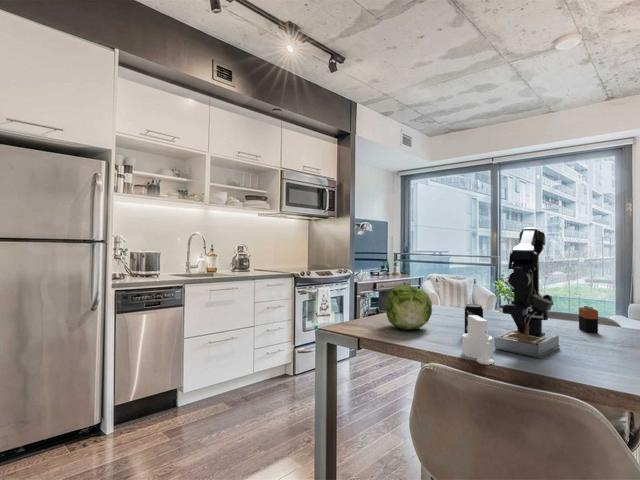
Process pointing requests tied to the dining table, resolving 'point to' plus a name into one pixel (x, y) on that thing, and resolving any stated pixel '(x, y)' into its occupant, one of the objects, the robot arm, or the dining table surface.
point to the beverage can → (472, 313)
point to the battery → (588, 319)
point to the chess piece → (485, 351)
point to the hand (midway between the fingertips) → (523, 332)
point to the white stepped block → (475, 338)
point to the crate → (524, 336)
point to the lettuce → (408, 307)
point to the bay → (527, 345)
